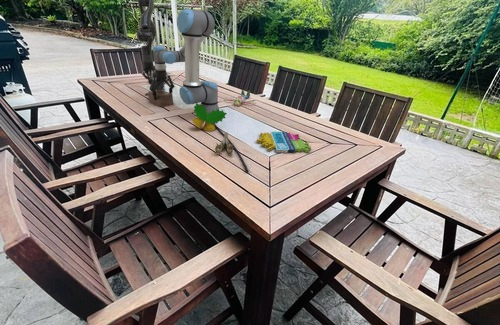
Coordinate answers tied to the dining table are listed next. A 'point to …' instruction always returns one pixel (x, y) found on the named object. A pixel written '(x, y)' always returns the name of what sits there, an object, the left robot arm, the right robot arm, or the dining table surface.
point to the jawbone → (224, 145)
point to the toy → (241, 99)
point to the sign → (283, 142)
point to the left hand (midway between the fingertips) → (150, 84)
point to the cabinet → (161, 98)
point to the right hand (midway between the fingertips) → (163, 98)
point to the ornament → (207, 117)
